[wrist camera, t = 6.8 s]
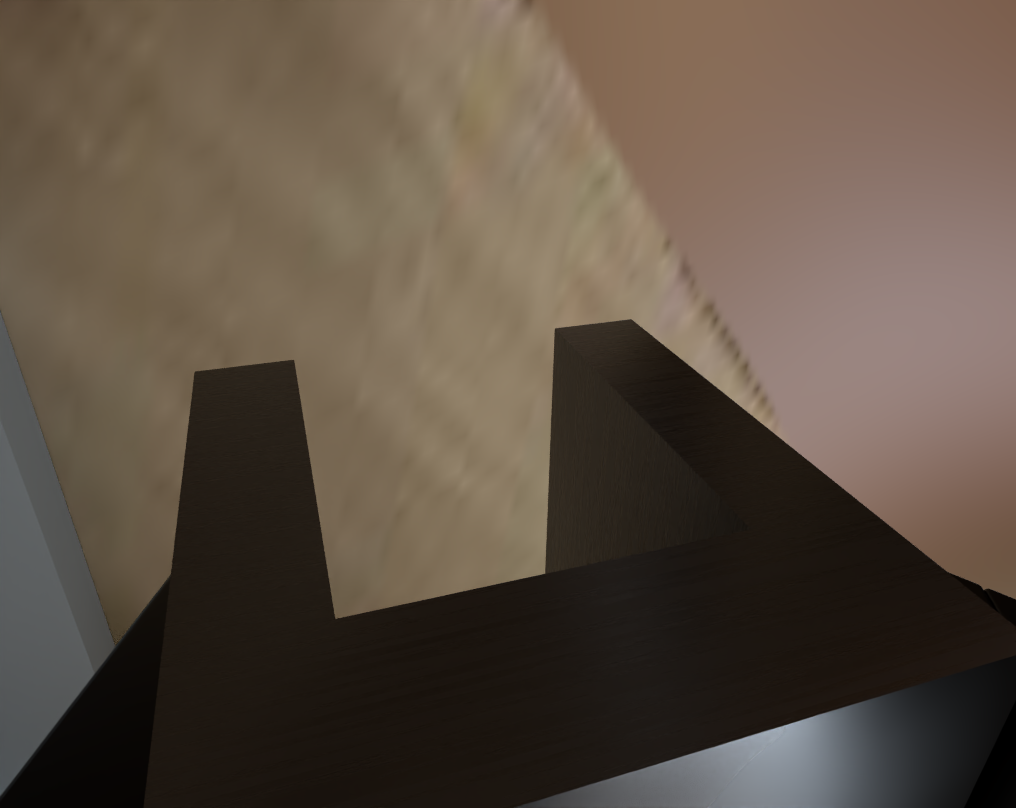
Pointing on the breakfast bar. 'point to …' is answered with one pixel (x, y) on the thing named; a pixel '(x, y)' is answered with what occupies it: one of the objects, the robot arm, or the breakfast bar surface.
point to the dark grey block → (572, 625)
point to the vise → (38, 584)
